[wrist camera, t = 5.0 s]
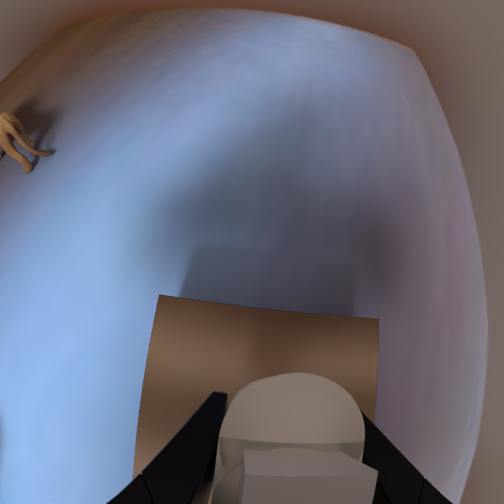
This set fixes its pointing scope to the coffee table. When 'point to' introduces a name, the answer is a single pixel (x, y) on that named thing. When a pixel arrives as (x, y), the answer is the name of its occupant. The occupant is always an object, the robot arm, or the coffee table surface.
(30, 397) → the coffee table surface
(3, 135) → the lion figurine
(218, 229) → the coffee table surface
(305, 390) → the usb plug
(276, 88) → the coffee table surface
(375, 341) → the walnut dock
